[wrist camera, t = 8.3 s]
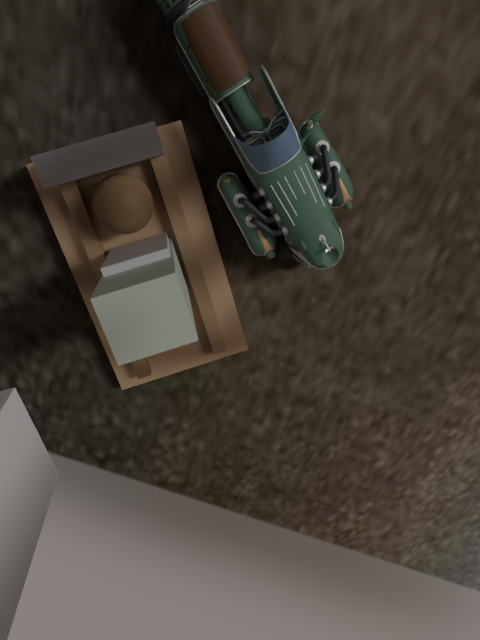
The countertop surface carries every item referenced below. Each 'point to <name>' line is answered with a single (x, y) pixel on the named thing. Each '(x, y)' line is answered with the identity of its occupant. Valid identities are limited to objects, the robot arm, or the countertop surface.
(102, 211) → the walnut
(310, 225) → the hoverbike
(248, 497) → the countertop surface
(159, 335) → the block
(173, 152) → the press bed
